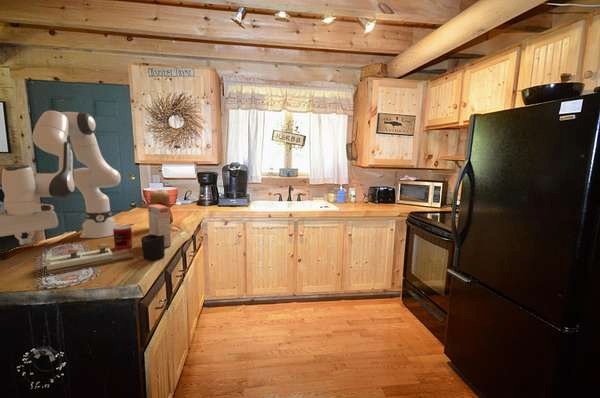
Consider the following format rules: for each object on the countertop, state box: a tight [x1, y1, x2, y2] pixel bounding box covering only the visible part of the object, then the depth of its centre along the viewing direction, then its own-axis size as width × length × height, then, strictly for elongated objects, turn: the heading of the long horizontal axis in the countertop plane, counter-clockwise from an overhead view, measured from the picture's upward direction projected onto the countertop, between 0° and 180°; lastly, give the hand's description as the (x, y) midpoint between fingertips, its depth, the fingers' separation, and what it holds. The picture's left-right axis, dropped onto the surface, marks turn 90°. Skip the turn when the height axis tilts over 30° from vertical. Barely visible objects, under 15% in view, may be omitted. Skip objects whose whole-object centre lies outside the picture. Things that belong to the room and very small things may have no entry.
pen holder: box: [140, 234, 166, 262], centre depth 127 cm, size 9×9×10 cm
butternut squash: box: [149, 189, 174, 225], centre depth 177 cm, size 14×13×25 cm
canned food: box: [113, 224, 133, 251], centre depth 139 cm, size 8×8×11 cm
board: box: [46, 243, 134, 276], centre depth 120 cm, size 14×29×7 cm, turn 132°
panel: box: [45, 247, 113, 271], centre depth 118 cm, size 10×22×4 cm, turn 132°
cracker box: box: [147, 204, 172, 248], centre depth 145 cm, size 14×6×21 cm, turn 47°
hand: (25, 243), depth 106 cm, fingers closed
